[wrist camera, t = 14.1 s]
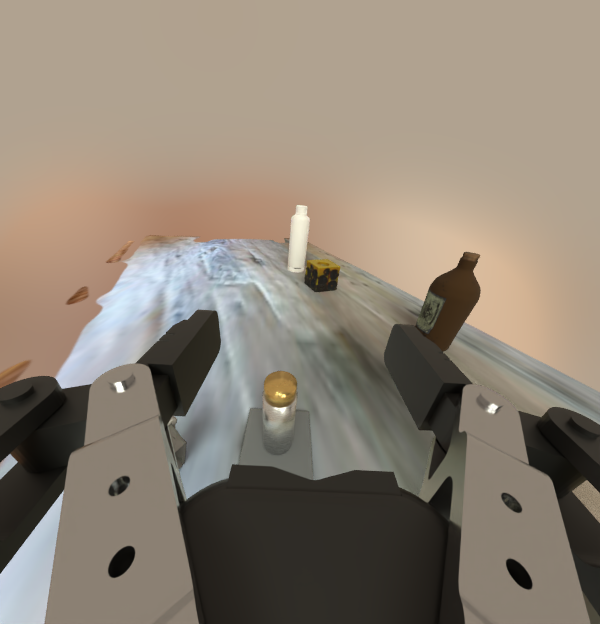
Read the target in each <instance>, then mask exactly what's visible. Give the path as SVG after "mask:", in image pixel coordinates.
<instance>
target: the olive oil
mask: <svg viewBox="0 0 600 624" xmlns="http://www.w3.org/2000/svg"><path fill="white" fill-rule="evenodd" d="M479 257H480V255H479V254H475V253H470V252H464V254H463V257H462V258H461V259H460V261H459V263H458V266H457V267H456V268H455V269H453V270H451V271H449V272H447V273H444V274H442V275H441V276H439V277H437V278H436V279H435V280H434V281H433V283H432V284H431V286H430V287H429V290H428V293H427V296H426V299H425V302H424V304H423V307H422V310H421V313H420V315H419V318H418V321H417V323H416V326H415V327H416V328H417V329H418V330H419V331H420V333H421V334H422V335H423V336H424V337H426V338H427V339H429V340H430V341H432V342H433V343H435V344H436V345H437V346H438V347H439V348H440V349H441V350H442V351H446V350H447V349H448V348H449V346H450V345H451V343H452V341H453V340H454V338H455V336H456V335H457V333H458V331H459V330H460V328H461V327H462V325H463V323H464V322H465V320H466V319H467V317H468V316H469V314H470V313H471V311H472V309H473V308H474V306H475V305H476V303H477V302H478V300H479V297H480V286H479V284H478V282H477V280H476V278H475V276H474V273H473V270H474V268H475V266H476V264H477V262H478V261H477V260H478V258H479Z"/></svg>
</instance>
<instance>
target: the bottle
mask: <svg viewBox="0 0 600 624" xmlns="http://www.w3.org/2000/svg"><path fill="white" fill-rule="evenodd" d="M309 224H310V219H309V217H308V216H307V206H301V205H297V206H296V214H295V215H293V216H292V218H291V230H290V243H289V256H288V270H289V271H292V272H303V271H304V266H305V258H306V249H307V241H308V232H309ZM294 268H301V269H294Z"/></svg>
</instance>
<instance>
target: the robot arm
mask: <svg viewBox="0 0 600 624" xmlns="http://www.w3.org/2000/svg"><path fill="white" fill-rule="evenodd" d="M220 345H221V339H220V330H219V321H218V314H217V312H216V311H211V310H197V311H196V312H195V313H194V314H193V315H192V316H191V317H190V318H189V319H188V320H183V321H181V322H179V323H177V324H175V325H173V326H172V327H171V328H170V329H169V330H168V331H167V332H166V335H163V336H162V337H161V338H160V339H159V341H157V342H156V343H155V344H154V345H153V346H152V347H151V348H150V349H149V350H148V351H147V352H146V353H145V354H144V355H143V356H142V357H141V358H140V359H139V360H138V361H137V362H136V363H135V364H127V365H123V366H119V367H116V368H114V369H111V370H109V371H107V372H106V373H104V374H102V375H101V376H100V377H98V378H97V379H96V380H95V381H94V382H93V384H90V385H84V386H78V387H71V388H65V389H62V388H61V387H60V385H59V383H58V382H57V380H56V379H55V378H53V377H50V376H38V377H31V378H27V379H23V380H20V381H17V382H14V383H11V384H9V385H7V386H4V387H2V388H0V462H1V461H2V460H3V459H4V458H6V457H7V456H8V455H9V454H11V455H12V456H13V457H14V458H15V459H16V460H17V461H18V463H17V464H16V465H15V466H14V467H13V468H12V469H11V470H10V471H9V472H8V473H7V474H6V475H5V476H4V477H3V478H2V479H1V480H0V573H1V572H2V571H3V569H4V568H5V567H6V566H7V564H8V563H9V562H10V560H11V559H12V558H13V556H14V555H15V554H16V552H17V551H18V550H19V548H20V547H21V546H22V544H23V543H24V542H25V540H26V539H27V538H28V536H29V535H30V534H31V533H32V531H33V530H34V529H35V527H36V526H37V525H38V523H39V522H40V521H41V519H42V518H43V517H44V515H45V514H46V513H47V511H48V510H49V509H50V507H51V506H52V505H53V503H54V502H55V501H56V500H57V498H58V497H59V496H60V494H61V493H62V492H63V490H64V494H63V501H62V508H61V515H60V522H59V528H58V535H57V542H56V549H55V556H54V562H53V569H52V576H51V583H50V590H49V596H48V603H47V610H46V617H45V624H600V523H599V522H598V521H597V520H596V519H595V517H594V516H593V515H592V514H591V513H590V512H589V511H588V509H587V508H586V507H585V506H584V505H583V504H582V503H581V501H580V500H579V499H578V498H577V497H576V496H575V495H574V493H573V492H572V491H573V490H574V489H575V488H577V487H578V486H579V485H580V484H582V483H583V482H584V481H586V480H588V481H589V482H590V483H591V484H592V485H593V486H594V487H595V488H596V489H597V490H598V491H599V492H600V425H599V424H597V423H596V422H594V421H592V420H591V419H589V418H587V417H585V416H583V415H581V414H579V413H576V412H574V411H571V410H568V409H564V408H560V407H552V408H550V409H549V410H548V411H547V412H546V413H545V414H544V415H543V416H542V417H538V416H534V415H531V414H528V413H524V412H521V411H518V410H517V409H516V407H515V406H514V405H513V404H512V403H511V402H510V401H509V400H508V399H506V398H505V397H504V396H502V395H501V394H499V393H497V392H495V391H494V390H491V389H489V388H487V387H484V386H481V385H475V384H472V383H471V382H470V380H469V379H468V378H467V377H466V376H465V375H464V374H463V373H462V372H461V371H460V370H459V369H458V367H457V366H456V365H455V364H454V363H453V362H452V361H450V359H449V358H448V357H447V356H446V355H445V354H443V351H442V350H441V349H440V348H439V347H438V346H437V345H436V344H435V343H433V342H432V341H430V340H429V339H427V338H426V337H424V336H423V335H422V334H421V333H420V331H419V330H418V329H417V328H416V327H415V326H414V325H403V324H395V325H394V326H393V328H392V331H391V334H390V337H389V340H388V343H387V346H386V349H385V353H384V361H385V364H386V367H387V368H388V370H389V372H390V374H391V376H392V378H393V380H394V382H395V384H396V386H397V388H398V390H399V392H400V394H401V396H402V398H403V400H404V402H405V404H406V406H407V408H408V410H409V412H410V414H411V416H412V418H413V420H414V421H415V423H416V425H417V427H418V429H419V430H430V431H433V432H434V434H435V436H434V438H433V440H432V443H431V448H430V452H429V457H428V461H427V466H426V471H425V475H424V480H423V484H422V488H421V491H420V493H419V496H418V497H417V496H416V495H414V494H413V493H410V492H408V491H406V490H404V489H402V488H399V487H398V484H397V481H396V478H395V475H394V472H383V471H361V470H353V471H350V472H346V473H342V474H339V475H335V476H331V477H328V478H324V479H320V480H310V479H307V478H304V477H302V476H299V475H296V474H293V473H290V472H287V471H284V470H282V469H279V468H276V467H273V466H254V465H233V464H232V467H231V471H230V475H229V478H228V479H225V480H221V481H219V482H216V483H214V484H211V485H209V486H207V487H206V488H204V489H202V490H200V491H199V492H197V493H196V494H194V495H193V496H191V497H190V498H188V499H186V495H185V491H184V488H183V484H182V481H181V477H180V473H179V469H178V465H177V460H176V456H175V452H174V448H173V444H172V439H171V435H170V431H169V427H168V423H169V421H170V419H171V418H172V416H186V414H187V412H188V410H189V408H190V406H191V404H192V402H193V401H194V399H195V397H196V395H197V393H198V391H199V389H200V387H201V385H202V384H203V382H204V380H205V378H206V376H207V374H208V372H209V370H210V368H211V367H212V365H213V363H214V361H215V359H216V357H217V355H218V353H219V350H220Z"/></svg>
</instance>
